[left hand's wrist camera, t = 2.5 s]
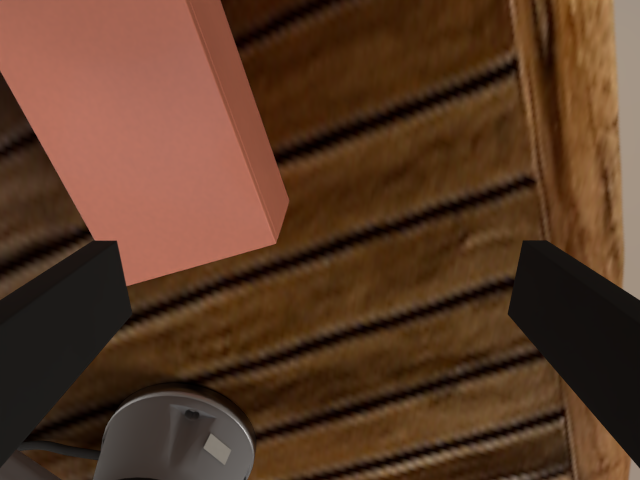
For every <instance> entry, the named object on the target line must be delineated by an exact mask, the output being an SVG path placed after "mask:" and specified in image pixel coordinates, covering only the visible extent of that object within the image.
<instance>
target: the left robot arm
mask: <svg viewBox="0 0 640 480" xmlns="http://www.w3.org/2000/svg"><path fill="white" fill-rule="evenodd" d="M131 315H132V310H131V305H130V301H129V296H128V291H127V286H126V281H125V277H124V272H123V267H122V262H121V257H120V253H119V248H118V243H117V241H92V242H90V243H89V244H87V245H86V246H84V247H82V248H81V249H79V250H78V251H76V252H75V253H73V254H72V255H70V256H68V257H67V258H65V259H64V260H62V261H61V262H59V263H58V264H56V265H54V266H53V267H51V268H50V269H48V270H47V271H45V272H44V273H42V274H40V275H39V276H37V277H36V278H34V279H33V280H31V281H30V282H28V283H26V284H25V285H23V286H22V287H20V288H19V289H17V290H16V291H14V292H12V293H11V294H9V295H8V296H6V297H5V298H3V299H2V300H0V480H61V479H60V478H58V477H57V476H55V475H54V474H52V473H51V472H49V471H48V470H46V469H45V468H43V467H42V466H40V465H39V464H38V463H36V462H35V461H33V460H32V459H30V458H29V457H27V456H26V455H24V454H23V453H21V452H20V451H23V450H33V449H39V450H47V451H51V452H55V453H59V454H63V455H68V456H74V457H80V458H87V459H94V460H98V463H97V467H96V471H95V474H94V478H93V480H247V479H248V477H249V475H250V473H251V470H252V467H253V462H254V457H255V451H256V436H255V432H254V429H253V427H252V424H251V422H250V421H249V419H248V418H247V416H246V415H245V414H244V412H243V411H242V410H241V409H240V408H239V407H238V406H237V405H235V404H234V403H233V402H232V401H230V400H229V399H227V398H226V397H224V396H222V395H220V394H218V393H216V392H214V391H212V390H209V389H206V388H203V387H200V386H196V385H190V384H183V383H165V384H158V385H153V386H149V387H146V388H143V389H141V390H139V391H137V392H135V393H133V394H132V395H130V396H129V397H128V398H126V399H125V400H124V401H123V402H122V403H121V404H120V406H119V407H118V409H117V410H116V412H115V413H114V415H113V416H112V418H111V419H110V421H109V422H108V424H107V426H106V429H105V432H104V435H103V439H102V445H101V451H98V450H91V449H84V448H78V447H72V446H67V445H63V444H59V443H55V442H49V441H29V442H23V441H24V440H25V439H26V438H27V436H28V435H29V434H30V433H31V432H32V431H33V429H34V428H35V427H36V426H37V425H38V424H39V422H40V421H41V420H42V419H43V418H44V417H45V415H46V414H47V413H48V412H49V411H50V410H51V408H52V407H53V406H54V405H55V404H56V403H57V401H58V400H59V399H60V398H61V397H62V396H63V394H64V393H65V392H66V391H67V390H68V389H69V387H70V386H71V385H72V384H73V383H74V382H75V380H76V379H77V378H78V377H79V376H80V375H81V373H82V372H83V371H84V370H85V369H86V368H87V366H88V365H89V364H90V363H91V362H92V361H93V359H94V358H95V357H96V356H97V355H98V354H99V352H100V351H101V350H102V349H103V348H104V347H105V345H106V344H107V343H108V342H109V341H110V340H111V338H112V337H113V336H114V335H115V334H116V333H117V331H118V330H119V329H120V328H121V327H122V326H123V324H124V323H125V322H126V321H127V320H128V319H129V317H130V316H131ZM508 315H509V316H510V317H511V319H512V320H513V321H514V322H515V323H516V324H517V326H518V327H519V328H520V329H521V330H522V331H523V333H524V334H525V335H526V336H527V337H528V338H529V340H530V341H531V342H532V343H533V344H534V345H535V347H536V348H537V349H538V350H539V351H540V352H541V354H542V355H543V356H544V357H545V358H546V359H547V361H548V362H549V363H550V364H551V365H552V366H553V368H554V369H555V370H556V371H557V372H558V373H559V375H560V376H561V377H562V378H563V379H564V380H565V382H566V383H567V384H568V385H569V386H570V387H571V389H572V390H573V391H574V392H575V393H576V394H577V396H578V397H579V398H580V399H581V400H582V401H583V403H584V404H585V405H586V406H587V407H588V408H589V410H590V411H591V412H592V413H593V414H594V415H595V417H596V418H597V419H598V420H599V421H600V422H601V424H602V425H603V426H604V427H605V428H606V429H607V431H608V432H609V433H610V434H611V435H612V436H613V438H614V439H615V440H616V441H617V442H618V443H619V445H620V446H621V447H622V448H623V449H624V450H625V452H626V453H627V454H628V455H629V456H630V457H631V459H632V460H633V461H634V462H635V463H636V464H637V466H638V467H639V468H640V300H638V299H637V298H635V297H634V296H632V295H631V294H629V293H628V292H626V291H624V290H623V289H621V288H620V287H618V286H617V285H615V284H614V283H612V282H610V281H609V280H607V279H606V278H604V277H603V276H601V275H600V274H598V273H596V272H595V271H593V270H592V269H590V268H589V267H587V266H586V265H584V264H582V263H581V262H579V261H578V260H576V259H575V258H573V257H572V256H570V255H568V254H567V253H565V252H564V251H562V250H561V249H559V248H558V247H556V246H554V245H553V244H551V243H550V242H548V241H523V243H522V248H521V253H520V257H519V262H518V267H517V272H516V277H515V281H514V286H513V291H512V296H511V301H510V305H509V310H508ZM22 442H23V443H22Z"/></svg>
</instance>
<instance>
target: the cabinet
mask: <svg viewBox="0 0 640 480" xmlns="http://www.w3.org/2000/svg"><path fill="white" fill-rule="evenodd" d="M0 71H1V73H2V75H3V76H4V78H5V80H6V82H7V84H8V85H9V87H10V89H11V91H12V93H13V94H14V96H15V98H16V100H17V102H18V103H19V105H20V107H21V109H22V111H23V112H24V114H25V116H26V118H27V119H28V121H29V123H30V125H31V127H32V128H33V130H34V132H35V134H36V136H37V137H38V139H39V141H40V143H41V145H42V146H43V148H44V150H45V152H46V153H47V155H48V157H49V159H50V161H51V162H52V164H53V166H54V168H55V170H56V171H57V173H58V175H59V177H60V179H61V180H62V182H63V184H64V186H65V188H66V189H67V191H68V193H69V195H70V196H71V198H72V200H73V202H74V204H75V205H76V207H77V209H78V211H79V213H80V214H81V216H82V218H83V220H84V222H85V223H86V225H87V227H88V229H89V231H90V232H91V234H92V236H93V238H94V239H95V241H117V243H118V248H119V253H120V257H121V262H122V267H123V272H124V277H125V281H126V286H129V285H132V284H136V283H139V282H143V281H146V280H150V279H153V278H157V277H160V276H164V275H167V274H171V273H174V272H178V271H181V270H185V269H189V268H192V267H196V266H199V265H203V264H206V263H210V262H213V261H217V260H220V259H224V258H227V257H231V256H234V255H238V254H241V253H245V252H248V251H252V250H255V249H259V248H262V247H266V246H269V245H273V244H276V242H277V239H278V236H279V233H280V229H281V226H282V223H283V220H284V217H285V213H286V210H287V207H288V203H289V198H288V196H287V193H286V190H285V187H284V184H283V181H282V178H281V175H280V172H279V169H278V167H277V164H276V161H275V158H274V155H273V152H272V149H271V146H270V143H269V140H268V137H267V135H266V132H265V129H264V126H263V123H262V120H261V117H260V114H259V111H258V108H257V106H256V103H255V100H254V97H253V94H252V91H251V88H250V85H249V82H248V79H247V76H246V74H245V71H244V68H243V65H242V62H241V59H240V56H239V53H238V50H237V47H236V44H235V42H234V39H233V36H232V33H231V30H230V27H229V24H228V21H227V18H226V15H225V13H224V10H223V7H222V4H221V1H220V0H0Z"/></svg>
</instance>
